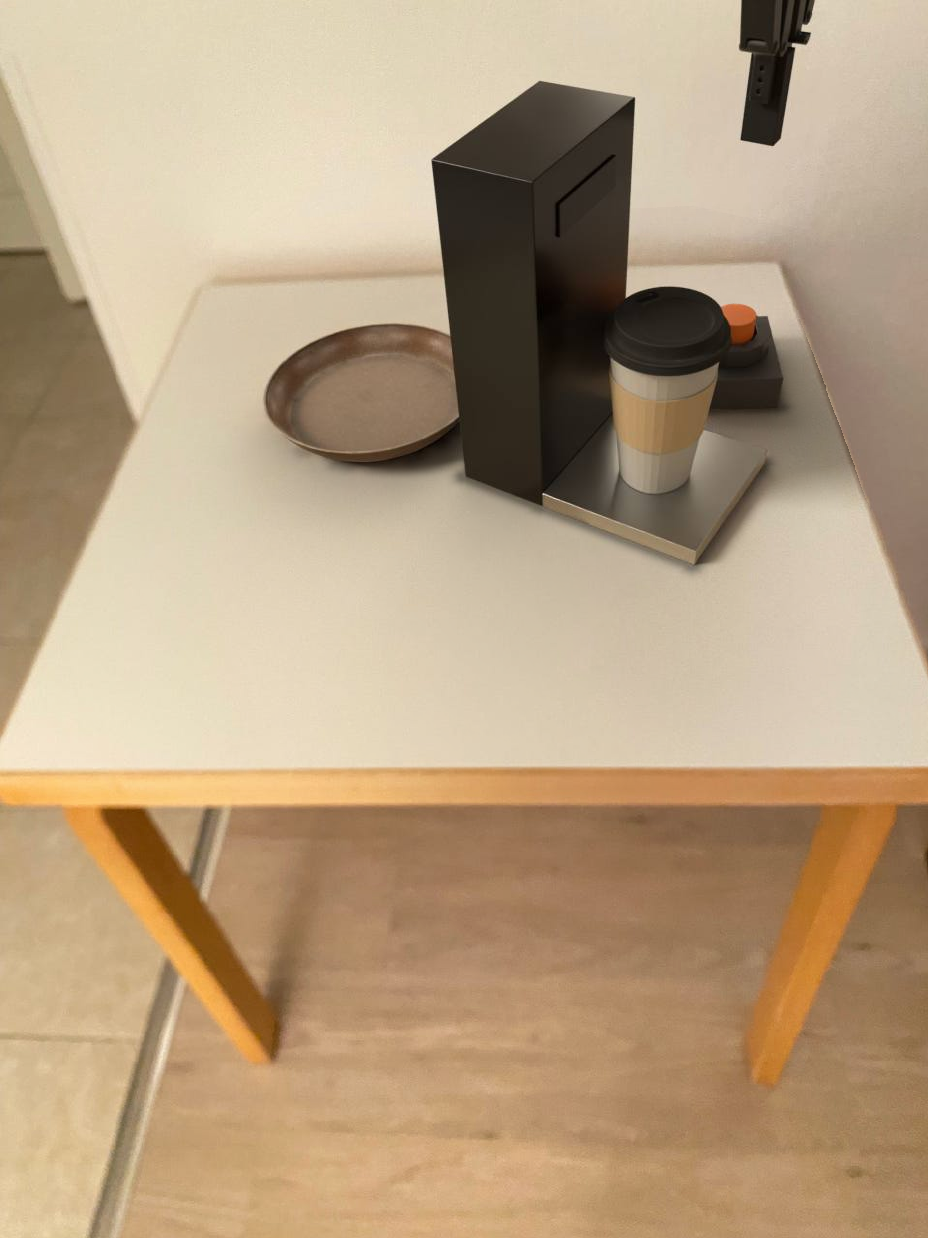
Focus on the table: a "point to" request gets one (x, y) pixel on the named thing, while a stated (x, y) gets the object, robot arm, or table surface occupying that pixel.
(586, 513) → the coffee maker
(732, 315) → the button
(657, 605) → the table surface
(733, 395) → the control block
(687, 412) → the coffee cup
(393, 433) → the plant saucer
